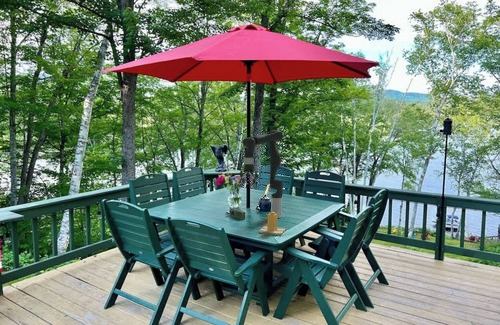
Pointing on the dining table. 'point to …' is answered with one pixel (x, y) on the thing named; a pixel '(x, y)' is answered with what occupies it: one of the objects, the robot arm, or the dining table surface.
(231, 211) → the handheld radio
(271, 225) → the tall orange toy brick
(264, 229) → the beige board with knob
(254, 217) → the dining table surface
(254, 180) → the robot arm
